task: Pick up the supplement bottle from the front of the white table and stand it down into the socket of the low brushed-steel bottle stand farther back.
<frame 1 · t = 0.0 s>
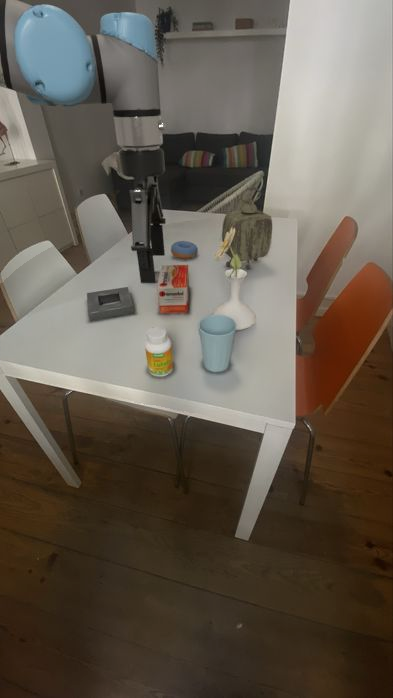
hand: (153, 267, 66), 18 cm above the table, tool pointing down, fingers open, 13 cm apart
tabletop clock: (245, 267, 110), on the table
medicine box: (175, 301, 93), on the table
flower in vase: (231, 324, 82), on the table
pocket watch: (155, 279, 104), on the table
supplement bottle: (161, 369, 69), on the table
doughnut: (184, 256, 119), on the table
cup: (216, 364, 70), on the table
bottle stand: (110, 306, 90), on the table
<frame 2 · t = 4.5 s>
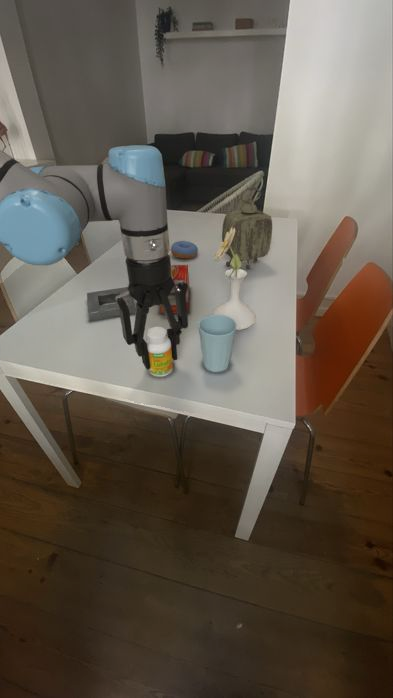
hand: (159, 360, 67), 2 cm above the table, tool pointing down, fingers closed on supplement bottle, 5 cm apart
supplement bottle: (161, 369, 69), on the table, touching gripper
everything else where it was.
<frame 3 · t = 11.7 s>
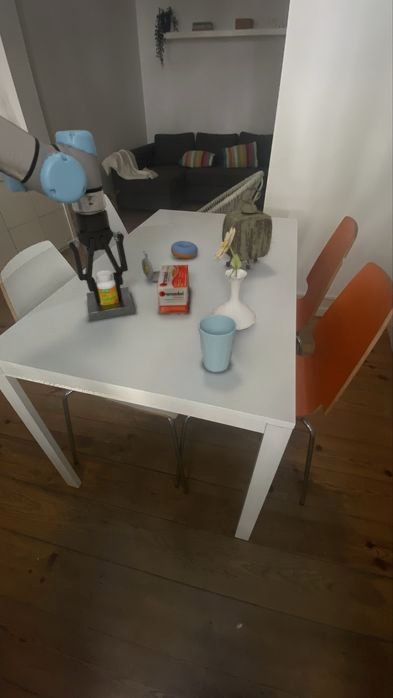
hand: (108, 298, 88), 3 cm above the table, tool pointing down, fingers closed on supplement bottle, 5 cm apart
supplement bottle: (110, 306, 90), resting in bottle stand, touching gripper
everything else where it was.
when the fingers open (4 cm above the table, at t = 17.1 s): supplement bottle drops 2 cm, resting in bottle stand.
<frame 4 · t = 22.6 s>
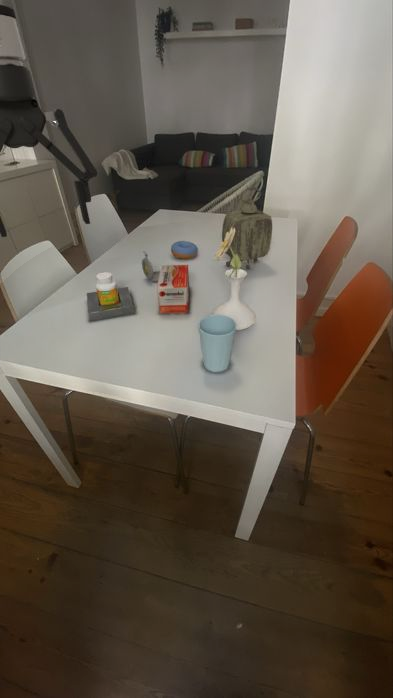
hand: (47, 228, 55), 29 cm above the table, tool pointing down, fingers open, 13 cm apart
supplement bottle: (110, 307, 90), resting in bottle stand
everything else where it was.
at the end: supplement bottle 0.0 cm off-centre in the bottle stand, point 0.0 cm above the bottle stand's base; supplement bottle tilted 0°; the gripper is holding nothing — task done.
